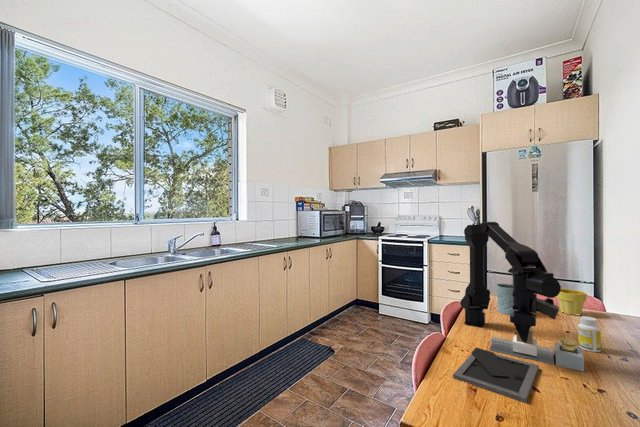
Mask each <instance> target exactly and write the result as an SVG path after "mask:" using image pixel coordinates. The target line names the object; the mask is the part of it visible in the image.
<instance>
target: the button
mask: <svg viewBox="0 0 640 427" xmlns="http://www.w3.org/2000/svg"><path fill="white" fill-rule="evenodd" d="M559 339H560V341H559V343H560V344H562V351H566V352H571V353H575V346H576V347H577V341H576V340H573V339H571V338H565V337H562V338H559Z"/></svg>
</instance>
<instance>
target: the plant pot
mask: <svg viewBox="0 0 640 427" xmlns="http://www.w3.org/2000/svg"><path fill="white" fill-rule="evenodd" d="M555 298H556V299H557V300H558V303H559V309H560V311H562V312H564V313H568V314H581V315H582V313H583V308H584V305H585V302H587V292H584V291H581V290H576V289H570V288H561V290H560V293H559V294H558V295H557V296H556V297H555ZM562 312H561V313H562ZM564 313H563V314H564Z"/></svg>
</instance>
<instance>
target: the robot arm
mask: <svg viewBox="0 0 640 427" xmlns="http://www.w3.org/2000/svg"><path fill="white" fill-rule="evenodd" d="M463 233H464V239H465V242H466V244H467V245H468V247H469V284H468V285H467V286H466V288H465V290H464V291H465V292H464V295H463V297H462V299H460V301H459V302H460V307H461V308H463V309H464V322H463V324H464V325H468V326H473V327H478V328H483V327H484V326H485V324H486V312H484V311H485V310H489V309H488V308H489V305H490V302H491V290H490V289H488V288H487V287H486V285H485V251H484V250H485V247H486V245H487V243H488V242H489V239H491V240H492V241H493V242H494V243H495V244H496V245H497V246H498V247H499V248H500V249H501V250H502V251H503V252H504V257H505V260H506V261H507V262H508V264H509V265H510V266H511V268H509V269H508V270H507V271H508V272H507V273H510V274H512V285H513V293H512V296H513V309H514V311H513V312H511V314H510V315H509V322H510V323H512V324H513V326H514V327H515V330H516V329H517V330H516V332H517V331H518V334H519V336H520V338H521V340H522V342H527V338H528V334H529V329H530V327H536V326H537V313H538V312H539V313H540V314H542V315H545V316H547V317H548V318H550V319H553V320H556V317H557V316H558V314H559V311H560V306H558V305H557V304H555V301H554V299H553V298H557V297H556V296H557V295H558V294H559V293H560V290H561V289H562V286H561V285H560V282H559V280H558V279H557V278H555V277H554V273H553V272H548V270H547V269H546V266H545V265H544V263H543V262H542V260H541V258H540V256H539V254H538V253H537V251H536V250H535V249H533V248H531V247H529V246H527V245H525V244H521V243H519V242H518V241H516V239H515V238H513V237H512V236H511V235H510V234H509V233H508V232H506V231H505V230H504V229H503V228H502V227H501V226H500V224H499V223H498V222H496V221H484V222H480V223H476V224H467V225H466V227H465V228H464V230H463ZM537 295H538V296H539V295H540V296H542V297H543V296H544V297H546V298H545V299H540V298H538V296H537ZM516 310H517V311H516Z"/></svg>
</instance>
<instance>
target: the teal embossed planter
mask: <svg viewBox="0 0 640 427" xmlns="http://www.w3.org/2000/svg"><path fill="white" fill-rule="evenodd" d="M495 288H496V298H497V309H498V312H499V313H500V314H502V315H505V314H506V316H510V314H511V312H513V311H514V309H513V296H512V293H513V283H512V284H511V283H510V284H509V283H496V284H495ZM516 311H517V310H516Z"/></svg>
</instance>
